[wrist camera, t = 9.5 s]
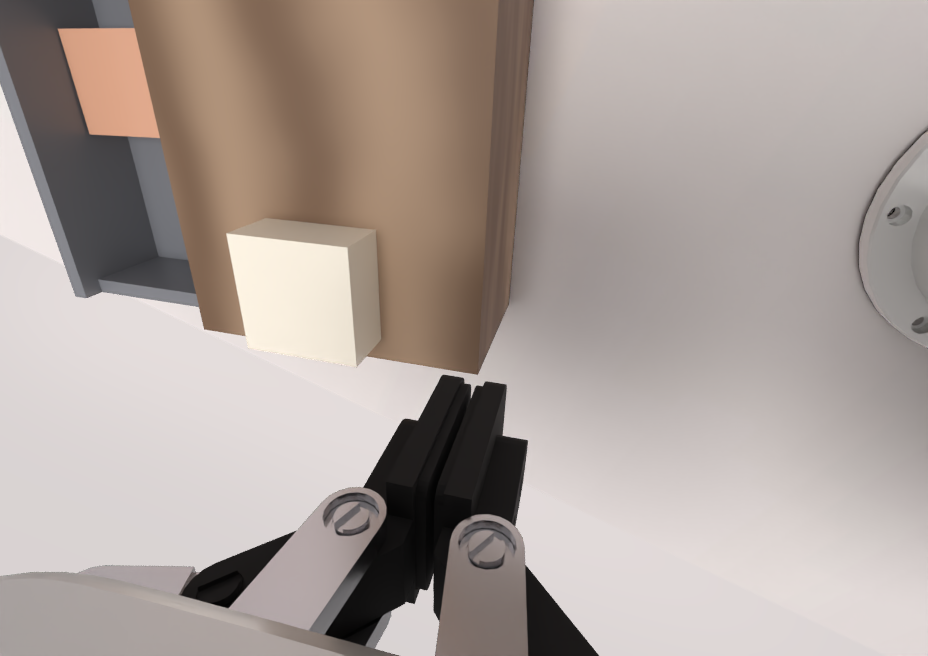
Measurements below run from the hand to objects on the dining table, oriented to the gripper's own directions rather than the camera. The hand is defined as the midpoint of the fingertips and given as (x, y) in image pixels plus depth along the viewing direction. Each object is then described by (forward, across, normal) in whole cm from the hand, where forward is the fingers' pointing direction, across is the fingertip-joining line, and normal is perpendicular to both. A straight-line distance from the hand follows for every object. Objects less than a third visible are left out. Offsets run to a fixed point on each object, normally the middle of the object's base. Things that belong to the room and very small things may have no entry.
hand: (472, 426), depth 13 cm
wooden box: (+16, +8, -5) cm, 19 cm away
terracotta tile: (+13, +22, -7) cm, 27 cm away
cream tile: (+8, +8, 0) cm, 12 cm away
